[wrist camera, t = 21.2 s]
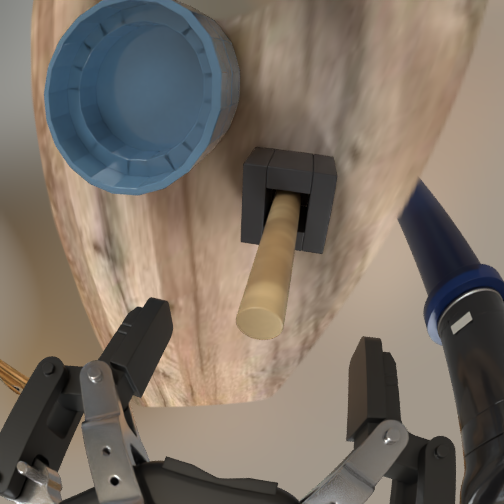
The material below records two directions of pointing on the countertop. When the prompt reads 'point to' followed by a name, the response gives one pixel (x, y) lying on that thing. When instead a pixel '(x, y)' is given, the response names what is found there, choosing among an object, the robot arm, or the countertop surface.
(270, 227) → the stick
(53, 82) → the bowl
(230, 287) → the countertop surface
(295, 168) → the holder
